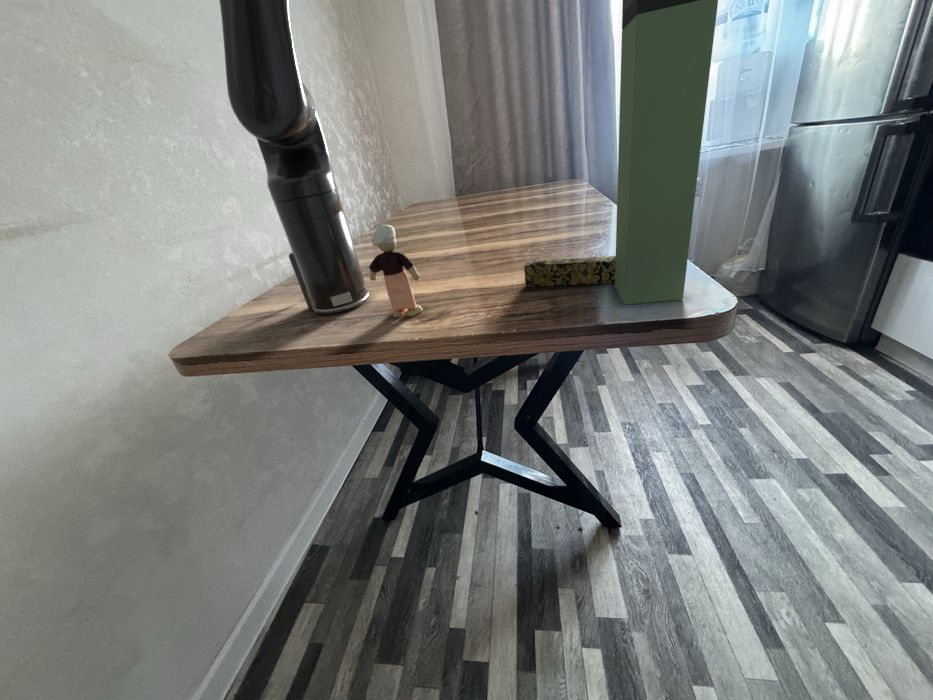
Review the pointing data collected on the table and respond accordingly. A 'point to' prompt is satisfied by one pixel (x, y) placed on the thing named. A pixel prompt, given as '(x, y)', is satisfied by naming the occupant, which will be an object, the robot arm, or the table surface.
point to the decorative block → (570, 271)
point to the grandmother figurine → (394, 272)
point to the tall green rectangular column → (660, 142)
